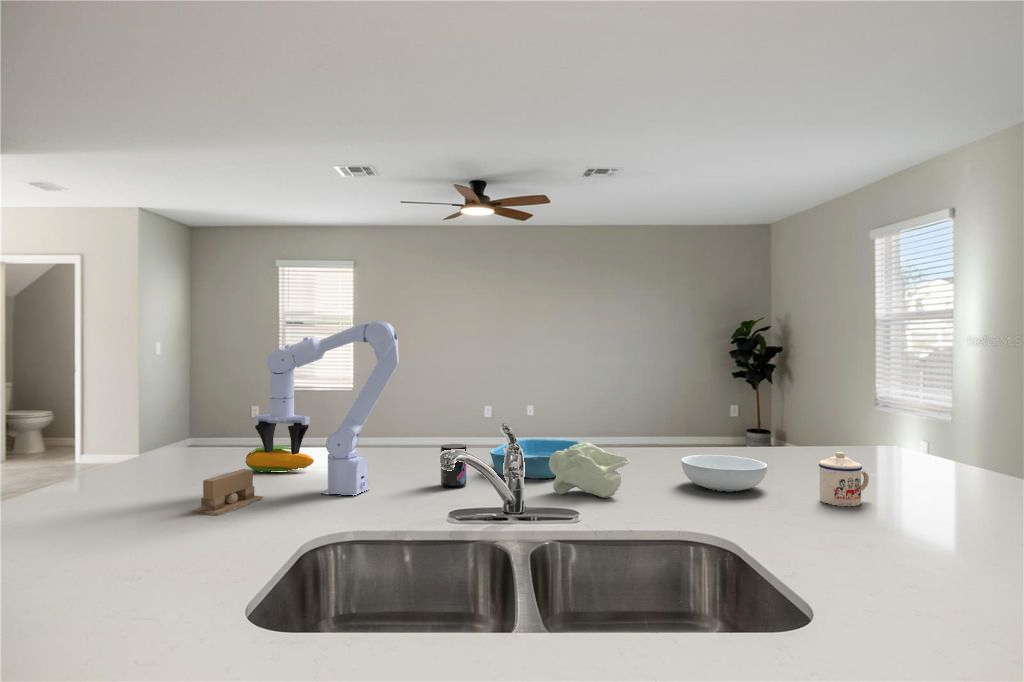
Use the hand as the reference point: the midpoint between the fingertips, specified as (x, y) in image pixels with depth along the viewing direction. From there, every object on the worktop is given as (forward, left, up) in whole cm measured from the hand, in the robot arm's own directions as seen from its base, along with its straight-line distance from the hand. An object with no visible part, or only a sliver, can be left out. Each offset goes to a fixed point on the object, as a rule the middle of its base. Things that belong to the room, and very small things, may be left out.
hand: (282, 452), depth 161 cm
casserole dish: (-53, -47, -10) cm, 72 cm away
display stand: (+4, +14, -10) cm, 18 cm away
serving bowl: (-105, -37, -10) cm, 112 cm away
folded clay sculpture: (-73, -21, -10) cm, 77 cm away
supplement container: (-38, -19, -10) cm, 44 cm away
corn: (+16, -22, -10) cm, 29 cm away
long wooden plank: (+4, +14, -7) cm, 16 cm away
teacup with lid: (-132, -30, -10) cm, 136 cm away
